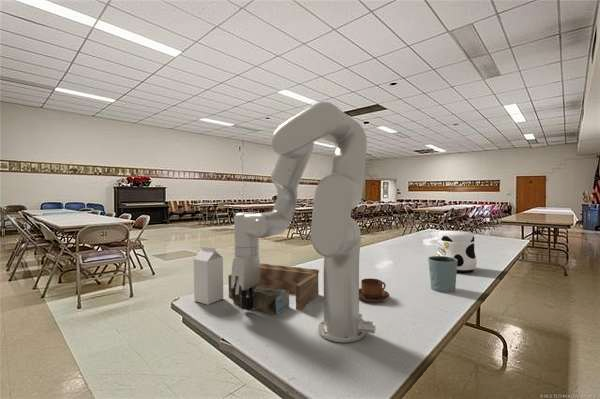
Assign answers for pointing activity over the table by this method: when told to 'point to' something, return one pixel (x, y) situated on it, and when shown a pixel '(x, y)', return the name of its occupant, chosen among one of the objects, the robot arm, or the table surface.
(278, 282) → the frame
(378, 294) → the cup and saucer
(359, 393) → the table surface
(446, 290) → the teal cup
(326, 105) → the robot arm
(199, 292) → the milk carton
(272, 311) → the beverage carton
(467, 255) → the milk container
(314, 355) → the table surface
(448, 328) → the table surface
